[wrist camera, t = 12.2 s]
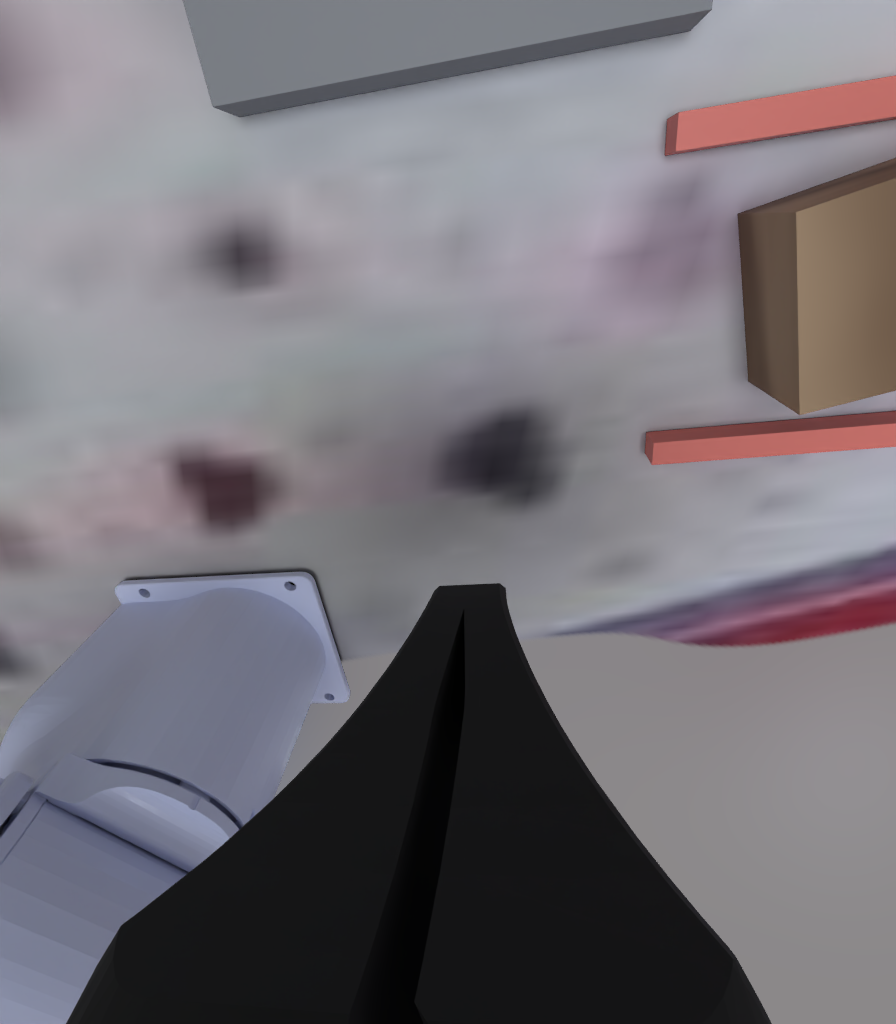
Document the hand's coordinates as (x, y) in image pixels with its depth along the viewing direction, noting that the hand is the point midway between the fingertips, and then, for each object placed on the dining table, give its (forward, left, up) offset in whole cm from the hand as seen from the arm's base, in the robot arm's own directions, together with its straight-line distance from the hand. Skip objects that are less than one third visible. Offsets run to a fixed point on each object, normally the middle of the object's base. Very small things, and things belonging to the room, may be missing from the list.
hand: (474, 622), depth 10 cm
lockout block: (+11, +4, -10) cm, 15 cm away
